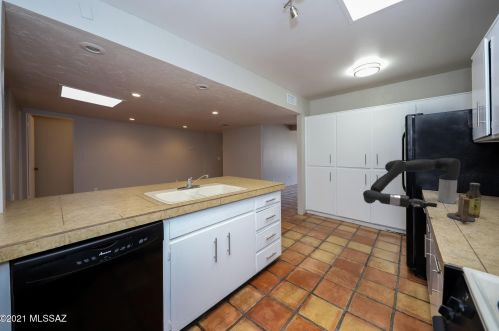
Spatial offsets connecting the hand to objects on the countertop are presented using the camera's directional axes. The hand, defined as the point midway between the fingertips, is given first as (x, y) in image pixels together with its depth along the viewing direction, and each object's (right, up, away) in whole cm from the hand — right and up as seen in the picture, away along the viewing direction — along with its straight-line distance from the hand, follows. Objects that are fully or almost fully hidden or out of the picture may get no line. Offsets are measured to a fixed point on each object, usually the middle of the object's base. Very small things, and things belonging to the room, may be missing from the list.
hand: (436, 205), depth 109 cm
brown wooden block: (+11, -6, -4) cm, 13 cm away
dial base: (+14, -8, 0) cm, 16 cm away
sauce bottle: (+25, -7, +4) cm, 26 cm away
